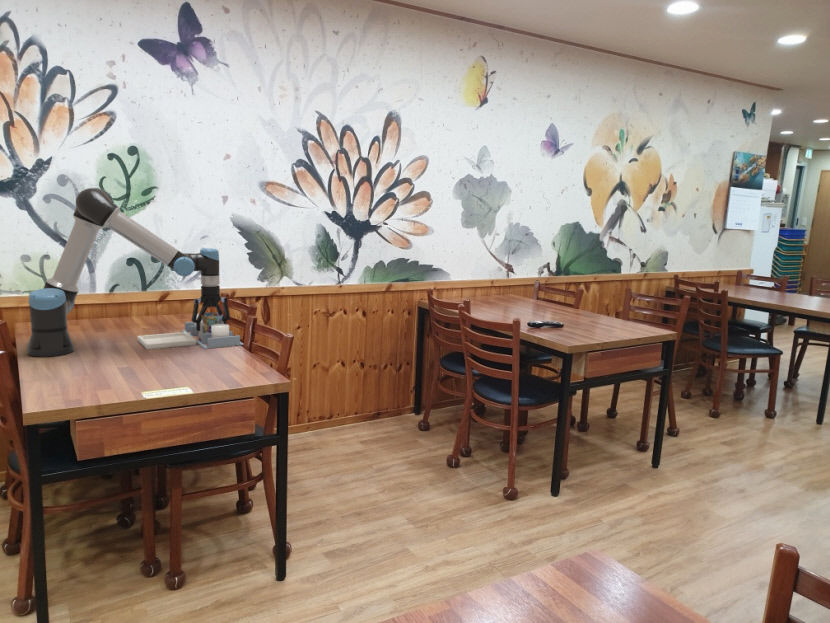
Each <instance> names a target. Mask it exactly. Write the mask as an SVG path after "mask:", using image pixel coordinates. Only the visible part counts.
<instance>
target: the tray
mask: <svg viewBox="0 0 830 623" xmlns="http://www.w3.org/2000/svg"><path fill="white" fill-rule="evenodd" d="M189 334H190V333H189ZM189 334H187V333H186V332H182V331H181V332H168V333H167V332H166V333H159V334H146V335H137V342H139V344H140V345H141V346H142V347H143V348H145V350H146V351H148V350H149V351H150V350H159V349H170V347H171V348H176V347H177V348H178V347H179V348H181V347H187V346H188V347H190V346H196V345H197V343H196V340H195V339H194V338H193V337H191V336H190V335H189Z"/></svg>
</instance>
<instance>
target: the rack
mask: <svg viewBox="0 0 830 623" xmlns="http://www.w3.org/2000/svg"><path fill="white" fill-rule="evenodd" d="M181 332H186V333H187V334H189V335H190V336H191V337H193V338H194V339H195V340H196V345H198V346H200V347H201V348H203V349H204V350H207V349H209V348H210V349H215V348H218V347H219V348H226V347H227V346H229V347H236V346H235V345H238V346H244V343H243V341H242V342H241V335H234V331H232V330H231V331H230V330H229V336H227V337H217V338H212V334H211V333H205V334H203V332H204V325H202V334H201V339H200V340H199V338H197V337H196V336H199V331H197V330H196V326H195V325H194V322H192V321H188V322H184V329H183V330H181ZM206 344H207V345H206ZM227 348H228V347H227ZM210 349H209V350H210Z"/></svg>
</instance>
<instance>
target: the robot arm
mask: <svg viewBox="0 0 830 623" xmlns="http://www.w3.org/2000/svg"><path fill="white" fill-rule="evenodd" d="M114 201H115V200H114V199H113V197H112V195H111V194H110V193H109V192H108V191H106V190H104V189H103V188H100V187H92V188H91V187H90V188H86V189H85V188H84V189H83V190H82V191H80V192H78V194H77V196H76V198H75V209H74V212H73V215H72V217H73V218H74V223H73V226H72V229H71V231H70V234H69V236H68V239H67V241H66V244H65V246H64V248H63V250H62V253H61V255H60V259H59V261H58V263H57V265H56V268H55V270H54V273H53V276H52V277H51V278H47V279H46V281H45V283H44V286H43V288H38V289H35V290H33V291H31V292H30V293H29V295H28V304H29V305H28V306H29V316H30V329H31V334H30V337H29V340H28V344H27V349H26V350H27V355H28V356H32V357H39V358H40V357H41V358H44V357H45V358H46V357H48V358H49V357H57V356H63V355H68V354H71V353H72V352H74V351H75V346H74V343H73V340H72V338H71V336H70V333H69V331H68V319H67V318H68V317H67V316H68V314H69V313H70V312H71V311H72V310H73V309H74V306H75V303H76V302H75V301H76V298H77V296H78V293H79V288H78V286H77V284H78V282H79V280H80V276H81V274H82V272H83V270H84V267H85V264H86V262H87V260H88V258H89V255H90V253H91V250H92V248H93V245H94V243H95V240H96V238H97V235H98V233H99V231H100V230H103V229H105V228H108V229H109V230H111V231H113V232H114V233H116V234H117V235H119V236H120V237H122V238H124V239H126V241H128V242H130V243H131V244H133V245H134V246H136V247H137V248H139V249H140V250H142V251H144V252H145V253H147V254H148V255H150V256H151V257H153V258H154V259H155V260H157V261H159V262H160V263H162V264H164V265H165V266H166V267H168V268H169V270H170V271H171V272H175V274H177V275H178V276H180V277H188V276H190V275H191V274H193V272H200V284H201V286H200V298H194V299H193V303H194V304H193V309H192V317H191V322H194V323H196V330H197V331H199V335H198V339H200V340H201V334H202V323H200V322H201V320H202V317H201V315H202V316H204V313H206V311H207V309H208V308H211V307H212V308H215V309H216V313H219V315H220V316H221V314H223V317H222V320H221V324H227V321H230V320H231V316H230V310H229V306H228V298H227V297H225V296H224V297H223V296H221V289H220V287H221V286H220V285H221V284H220V282H221V281H220V253H219V250H218V249H217V248H208V247H207V248H200V250H199V252H198V253H197V252H196V253H192V252H191V253H187V252H186V253H185V252H182V251H179V250H178V249H177V248H176V247H174V246H172V245H171V244H169V243H168V242H167V241H165V240H164V239H162V238H161V237H159V236H158V235H156V234H155V233H153V232H151V231H150V230H149V229H148V228H145V227H144V226H143V225H141V224H140V223H138V222H137V221H135V220H134V219H133V218H131V217H129V216H128V215H127V214H125V213H123V212H122V211H121V210H120V207H119V206H118V205H117V204H115V202H114ZM220 302H222V307H223V311H224V313H223V311H222V309H221V307H220V304H219V303H220ZM201 303H202V306H201V308H200V311H199V307H200V306H199V305H200V304H201ZM197 314H199V315H198V317H197ZM196 319H197V320H196Z"/></svg>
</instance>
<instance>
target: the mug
mask: <svg viewBox="0 0 830 623" xmlns="http://www.w3.org/2000/svg"><path fill="white" fill-rule="evenodd" d="M223 315H224V313H223V314H221V316H220V315H219V313H218V312H217V311H216V312H215V311H214V312H211V311H210V312H205V313H204V316H202V315H201V317H202V320H203V324H204V332H203V334H205V333H211V325H214V324H221V321H222V317H223Z"/></svg>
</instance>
